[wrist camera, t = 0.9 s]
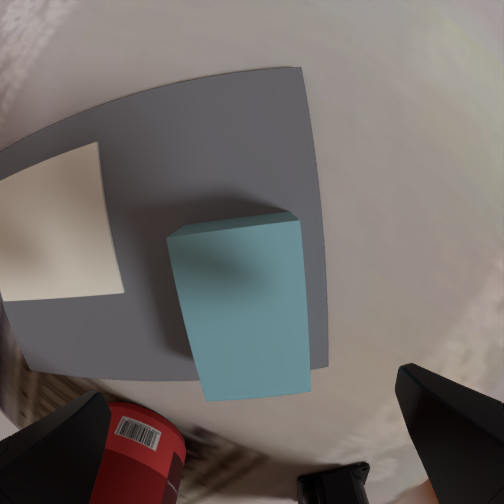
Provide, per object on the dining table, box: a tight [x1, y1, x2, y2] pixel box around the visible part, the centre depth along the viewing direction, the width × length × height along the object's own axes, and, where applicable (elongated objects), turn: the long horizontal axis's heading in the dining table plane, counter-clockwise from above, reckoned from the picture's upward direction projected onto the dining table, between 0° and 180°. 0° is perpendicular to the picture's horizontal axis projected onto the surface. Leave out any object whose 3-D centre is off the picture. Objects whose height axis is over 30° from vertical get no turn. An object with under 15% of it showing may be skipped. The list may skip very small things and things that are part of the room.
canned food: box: [89, 402, 186, 504], centre depth 13 cm, size 8×8×11 cm
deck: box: [166, 211, 311, 401], centre depth 13 cm, size 8×5×3 cm, turn 7°
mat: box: [0, 67, 328, 381], centre depth 14 cm, size 16×22×1 cm
